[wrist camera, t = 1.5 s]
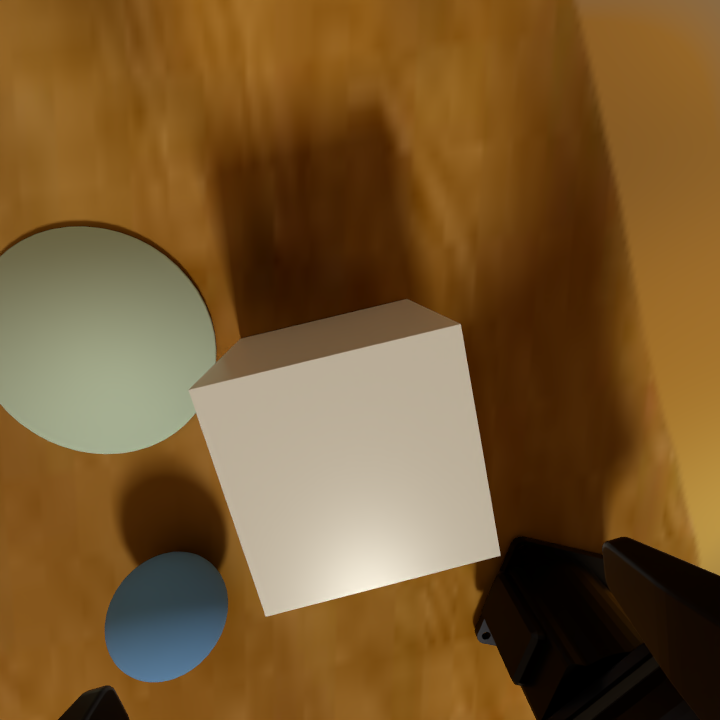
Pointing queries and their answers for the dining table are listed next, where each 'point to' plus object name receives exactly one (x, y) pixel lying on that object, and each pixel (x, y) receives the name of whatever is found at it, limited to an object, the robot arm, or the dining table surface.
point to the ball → (166, 616)
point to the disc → (99, 340)
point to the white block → (349, 453)
